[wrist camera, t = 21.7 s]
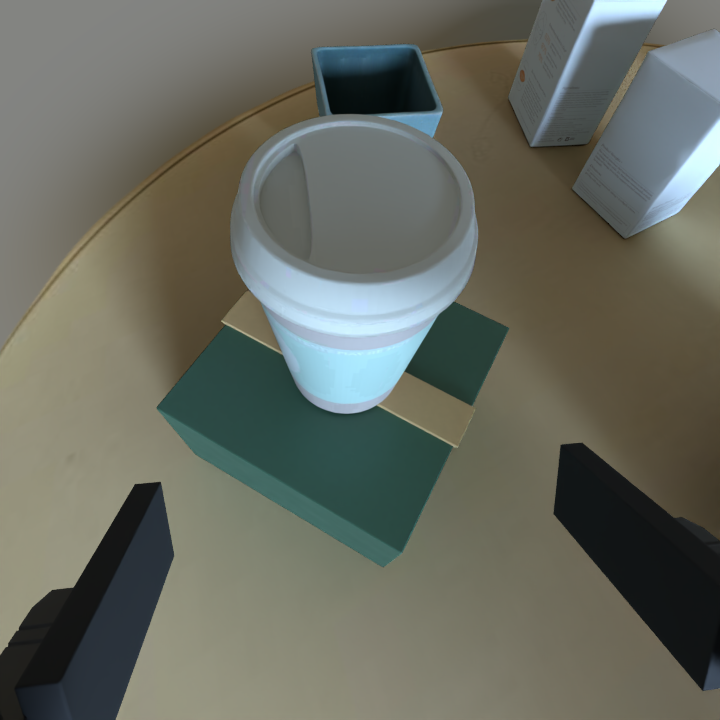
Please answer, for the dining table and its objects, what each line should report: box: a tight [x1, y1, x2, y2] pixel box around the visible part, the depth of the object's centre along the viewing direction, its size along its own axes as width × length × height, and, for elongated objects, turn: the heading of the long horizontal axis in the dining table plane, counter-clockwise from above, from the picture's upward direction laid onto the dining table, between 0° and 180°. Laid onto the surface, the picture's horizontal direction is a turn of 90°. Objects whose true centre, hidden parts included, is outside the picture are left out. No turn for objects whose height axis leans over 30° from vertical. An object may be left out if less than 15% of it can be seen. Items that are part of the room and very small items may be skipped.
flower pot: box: [311, 44, 443, 138], centre depth 40 cm, size 9×9×9 cm
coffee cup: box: [230, 114, 478, 414], centre depth 20 cm, size 8×9×12 cm
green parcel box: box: [157, 291, 509, 567], centre depth 29 cm, size 14×14×8 cm
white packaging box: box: [572, 29, 720, 238], centre depth 39 cm, size 7×7×13 cm
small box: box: [508, 0, 667, 147], centre depth 44 cm, size 8×6×13 cm
